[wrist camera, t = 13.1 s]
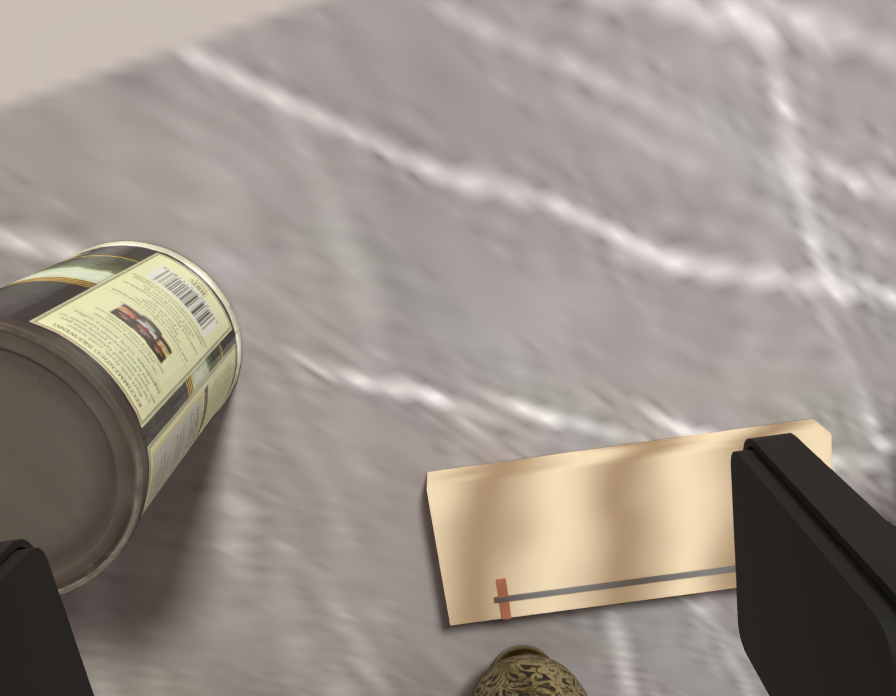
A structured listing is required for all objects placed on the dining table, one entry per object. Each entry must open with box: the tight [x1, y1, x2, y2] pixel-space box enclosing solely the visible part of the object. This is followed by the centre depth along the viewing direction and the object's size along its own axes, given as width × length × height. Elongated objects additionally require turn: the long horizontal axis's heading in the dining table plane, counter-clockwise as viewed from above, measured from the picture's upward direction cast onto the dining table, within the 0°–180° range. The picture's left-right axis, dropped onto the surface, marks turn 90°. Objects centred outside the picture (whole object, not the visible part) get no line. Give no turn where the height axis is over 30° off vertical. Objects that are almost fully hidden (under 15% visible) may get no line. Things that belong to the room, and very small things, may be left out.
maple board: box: [427, 419, 832, 625], centre depth 41 cm, size 20×8×2 cm, turn 98°
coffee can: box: [0, 241, 242, 595], centre depth 32 cm, size 10×10×14 cm
